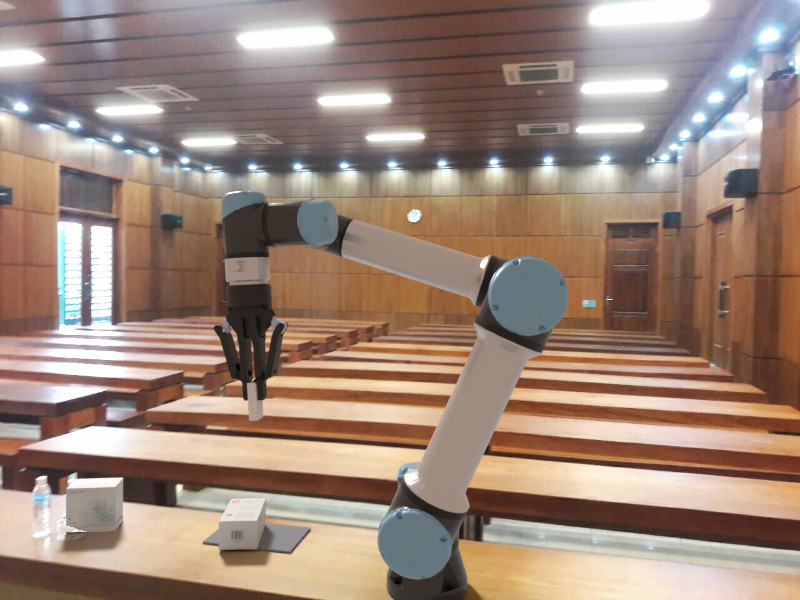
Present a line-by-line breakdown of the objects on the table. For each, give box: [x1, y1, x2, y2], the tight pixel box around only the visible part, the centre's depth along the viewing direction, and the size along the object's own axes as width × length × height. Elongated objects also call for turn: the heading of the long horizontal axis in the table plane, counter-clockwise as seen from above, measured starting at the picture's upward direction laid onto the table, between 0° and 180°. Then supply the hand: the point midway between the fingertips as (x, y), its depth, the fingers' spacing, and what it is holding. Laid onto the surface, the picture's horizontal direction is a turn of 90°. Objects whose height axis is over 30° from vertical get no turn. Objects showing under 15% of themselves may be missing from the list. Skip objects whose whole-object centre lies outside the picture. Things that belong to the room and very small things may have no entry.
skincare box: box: [65, 477, 124, 533], centre depth 133 cm, size 10×6×10 cm, turn 99°
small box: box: [218, 497, 267, 551], centre depth 128 cm, size 8×6×13 cm
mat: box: [202, 522, 311, 554], centre depth 130 cm, size 20×12×1 cm, turn 79°
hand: (256, 418), depth 101 cm, fingers closed
